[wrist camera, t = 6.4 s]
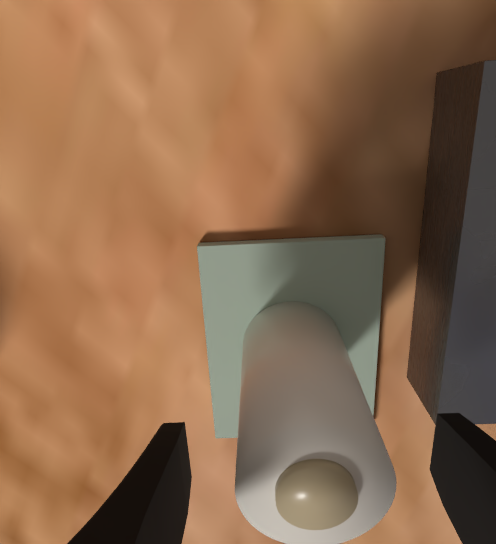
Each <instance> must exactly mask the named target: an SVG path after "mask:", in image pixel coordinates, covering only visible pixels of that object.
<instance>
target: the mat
mask: <svg viewBox="0 0 496 544" xmlns="http://www.w3.org/2000/svg"><path fill="white" fill-rule="evenodd" d="M197 251H198V261H199V271H200V282H201V292H202V303H203V313H204V323H205V334H206V344H207V354H208V365H209V375H210V385H211V396H212V406H213V416H214V427H215V437H216V438H238V423H239V404H240V386H241V368H242V349H243V338H244V334H245V331H246V329H247V327H248V325H249V324H250V322H251V321H252V319H253V318H254V317H255V316H256V315H257V314H259V313H260V312H261V311H263V310H264V309H266V308H267V307H270V306H272V305H274V304H277V303H282V302H288V301H299V302H305V303H309V304H312V305H314V306H316V307H318V308H320V309H322V310H323V311H325V312H326V313H327V314H328V315H329V316H330V317H331V318H332V319H333V321H334V322H335V324H336V326H337V328H338V330H339V332H340V335H341V337H342V340H343V342H344V345H345V347H346V350H347V352H348V355H349V357H350V360H351V362H352V365H353V367H354V370H355V372H356V375H357V377H358V380H359V382H360V385H361V387H362V390H363V392H364V395H365V397H366V400H367V402H368V405H369V407H370V410H371V412H372V415H373V414H374V400H375V385H376V370H377V356H378V341H379V326H380V312H381V297H382V282H383V268H384V253H385V237H384V236H383V235H382V234H379V235H357V236H335V237H313V238H291V239H270V240H248V241H226V242H204V243H198V246H197Z"/></svg>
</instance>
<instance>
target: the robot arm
mask: <svg viewBox="0 0 496 544" xmlns="http://www.w3.org/2000/svg"><path fill="white" fill-rule="evenodd" d="M430 471H431V474H432V477H433V480H434V482H435V485H436V488H437V491H438V493H439V496H440V498H441V501H442V503H443V506H444V508H445V510H446V512H447V514H448V516H449V518H450V520H451V522H452V524H453V526H454V528H455V530H456V532H457V534H458V536H459V538H460V540H461V542H462V543H463V544H496V441H495V440H494V439H493V438H491V437H490V436H489V435H488V434H486V433H485V432H484V431H482V430H481V429H480V428H479V427H477V426H476V425H475V424H473V423H472V422H471V421H470V420H468V419H467V418H466V417H464V416H463V415H461V414H460V413H438V414H437V419H436V427H435V434H434V442H433V449H432V456H431V464H430ZM191 478H192V476H191V468H190V460H189V453H188V445H187V437H186V429H185V422H181V423H163V424H162V425H161V426H160V428H159V429H158V431H157V432H156V434H155V435H154V437H153V438H152V440H151V441H150V443H149V444H148V446H147V447H146V449H145V450H144V452H143V453H142V454H141V456H140V457H139V459H138V460H137V462H136V463H135V464H134V466H133V467H132V468H131V470H130V471H129V472H128V474H127V475H126V476H125V478H124V479H123V480H122V482H121V483H120V484H119V485H118V487H117V488H116V489H115V490H114V492H113V493H112V494H111V495H110V496H109V498H108V499H107V500H106V501H105V502H104V504H103V505H102V506H101V507H100V509H99V510H98V511H97V512H96V513H95V514H94V515H93V517H92V518H91V519H90V520H89V521H88V522H87V523H86V524H85V525H84V527H83V528H82V529H81V530H80V531H79V532H78V533H77V534H76V535H75V536H74V537H73V538H72V539H71V540H70V541H69V542H68V543H67V544H181V543H182V538H183V534H184V529H185V524H186V519H187V515H188V506H189V498H190V488H191Z"/></svg>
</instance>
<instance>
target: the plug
mask: <svg viewBox="0 0 496 544" xmlns="http://www.w3.org/2000/svg"><path fill="white" fill-rule="evenodd" d="M395 492H396V475H395V471H394V468H393V465H392V463H391V460H390V458H389V455H388V453H387V450H386V448H385V445H384V443H383V440H382V438H381V435H380V432H379V430H378V427H377V425H376V422H375V420H374V417H373V415H372V412H371V410H370V407H369V405H368V402H367V400H366V397H365V395H364V392H363V390H362V387H361V385H360V382H359V380H358V377H357V375H356V372H355V370H354V367H353V365H352V362H351V360H350V357H349V355H348V352H347V350H346V347H345V345H344V342H343V340H342V337H341V335H340V332H339V330H338V328H337V326H336V324H335V322H334V321H333V319H332V318H331V317H330V316H329V315H328V314H327V313H326V312H325V311H323V310H322V309H320V308H318V307H316V306H314V305H312V304H309V303H305V302H299V301H288V302H282V303H277V304H274V305H272V306H270V307H267V308H266V309H264V310H263V311H261V312H260V313H259V314H257V315H256V316H255V317H254V318H253V319H252V321H251V322H250V324H249V325H248V327H247V329H246V331H245V334H244V338H243V349H242V368H241V386H240V404H239V423H238V441H237V459H236V478H235V495H236V500H237V503H238V506H239V508H240V510H241V512H242V514H243V515H244V517H245V518H246V519H247V521H248V522H249V523H250V524H251V525H252V526H253V527H255V528H256V529H257V530H258V531H260V532H261V533H263V534H265V535H266V536H268V537H270V538H272V539H274V540H277V541H280V542H283V543H286V544H339V543H343V542H346V541H349V540H351V539H354V538H356V537H358V536H360V535H362V534H363V533H365V532H367V531H368V530H370V529H371V528H372V527H374V526H375V525H376V524H377V523H378V522H379V521H380V520H381V519H382V518H383V517H384V516H385V514H386V513H387V512H388V510H389V508H390V506H391V504H392V502H393V499H394V496H395Z"/></svg>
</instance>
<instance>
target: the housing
mask: <svg viewBox="0 0 496 544" xmlns="http://www.w3.org/2000/svg"><path fill="white" fill-rule="evenodd" d="M407 378H408V380H409V382H410V383H411V385H412V387H413V388H414V390H415V392H416V393H417V395H418V397H419V398H420V400H421V402H422V403H423V405H424V407H425V408H426V410H427V412H428V413H429V415H430V417H431V418H432V420H433V422H434V423H435V425H436V419H437V414H438V413H460V414H461V415H463V416H464V417H466V418H467V419H468V420H470V421H471V422H472V423H473V424H495V423H496V60H492V61H482V62H478V63H474V64H470V65H466V66H462V67H458V68H454V69H450V70H446V71H443V72H439V73H437V78H436V88H435V98H434V108H433V119H432V129H431V139H430V149H429V159H428V169H427V179H426V189H425V200H424V210H423V220H422V230H421V240H420V250H419V260H418V270H417V280H416V291H415V301H414V311H413V321H412V331H411V341H410V351H409V361H408V371H407Z"/></svg>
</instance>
